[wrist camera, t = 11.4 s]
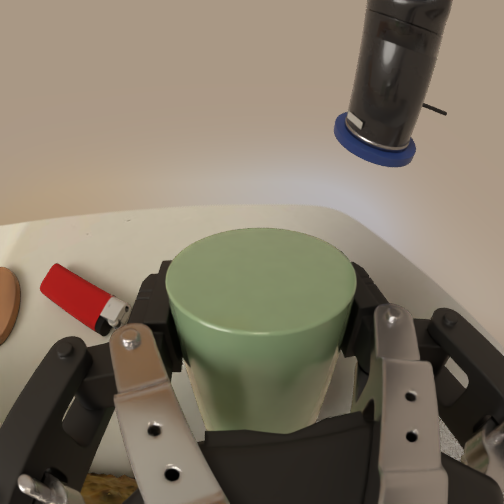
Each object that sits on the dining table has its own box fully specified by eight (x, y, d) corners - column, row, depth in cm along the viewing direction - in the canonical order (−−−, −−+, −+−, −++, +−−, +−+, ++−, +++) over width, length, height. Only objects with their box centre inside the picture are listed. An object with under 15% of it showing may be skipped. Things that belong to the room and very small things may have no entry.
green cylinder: (331, 405, 13) (378, 253, 8) (273, 485, 9) (299, 374, 5) (248, 363, 16) (244, 216, 11) (183, 424, 12) (128, 275, 7)
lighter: (56, 260, 18) (127, 300, 16) (63, 268, 19) (134, 308, 17) (37, 289, 17) (106, 338, 15) (46, 296, 18) (115, 344, 16)
